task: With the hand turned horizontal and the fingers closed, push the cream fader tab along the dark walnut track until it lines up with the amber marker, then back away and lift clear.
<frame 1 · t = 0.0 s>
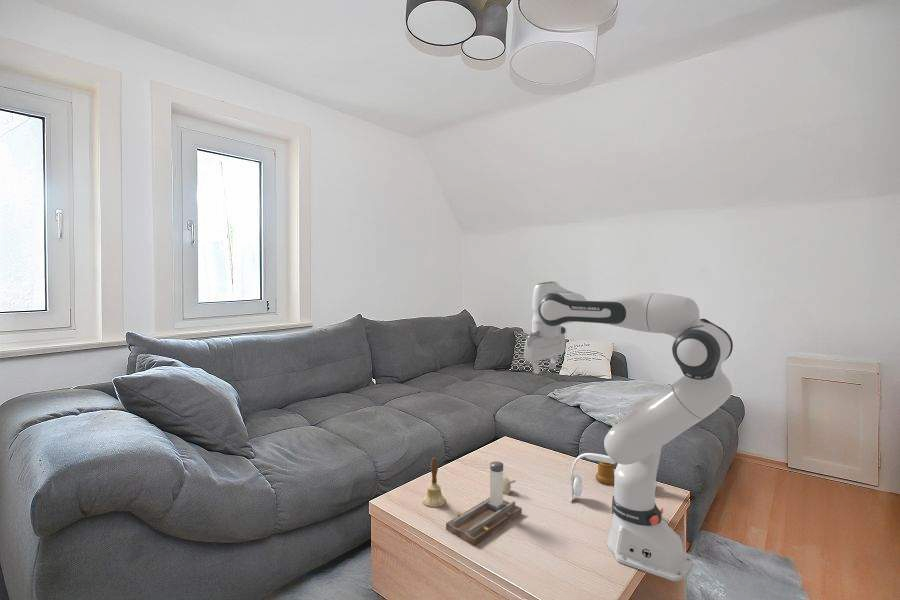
hand: (544, 370, 147), 48 cm above the table, tool pointing down, fingers open, 8 cm apart
white sculpted figure: (646, 490, 163), on the table
headset: (599, 504, 153), on the table
hand bell: (434, 501, 155), on the table
fader track: (485, 521, 142), on the table
decorative ornament: (504, 491, 162), on the table
ornamental finial: (605, 481, 170), on the table
fader tab: (496, 485, 146), point 10 cm above the table, slide at -6.0 cm
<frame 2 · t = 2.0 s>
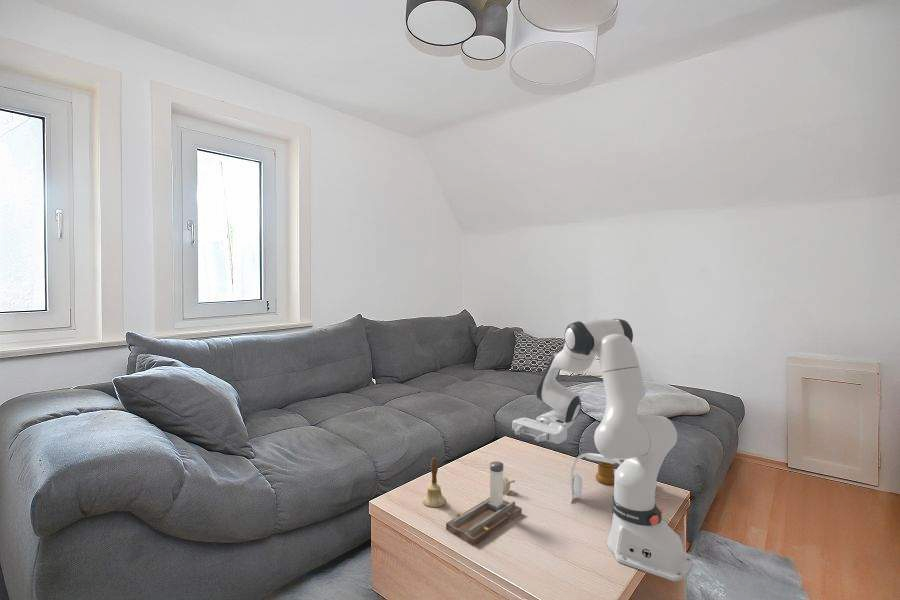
hand: (526, 435, 157), 22 cm above the table, tool horizontal, fingers open, 7 cm apart
nothing on the table moved.
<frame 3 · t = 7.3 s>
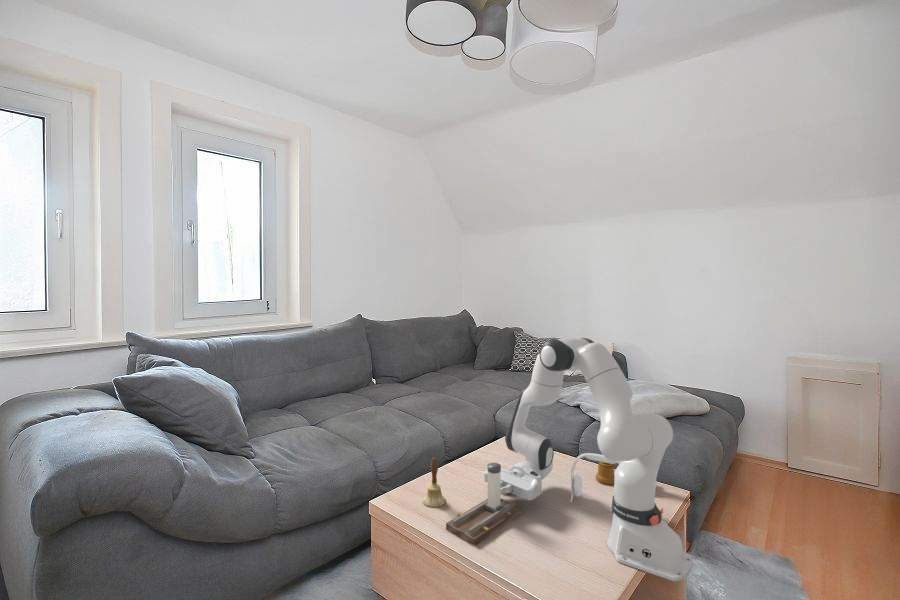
hand: (496, 490, 146), 8 cm above the table, tool horizontal, fingers closed, pressing on fader tab
fader tab: (494, 487, 145), point 10 cm above the table, slide at -4.6 cm, touching gripper
everything else where it was.
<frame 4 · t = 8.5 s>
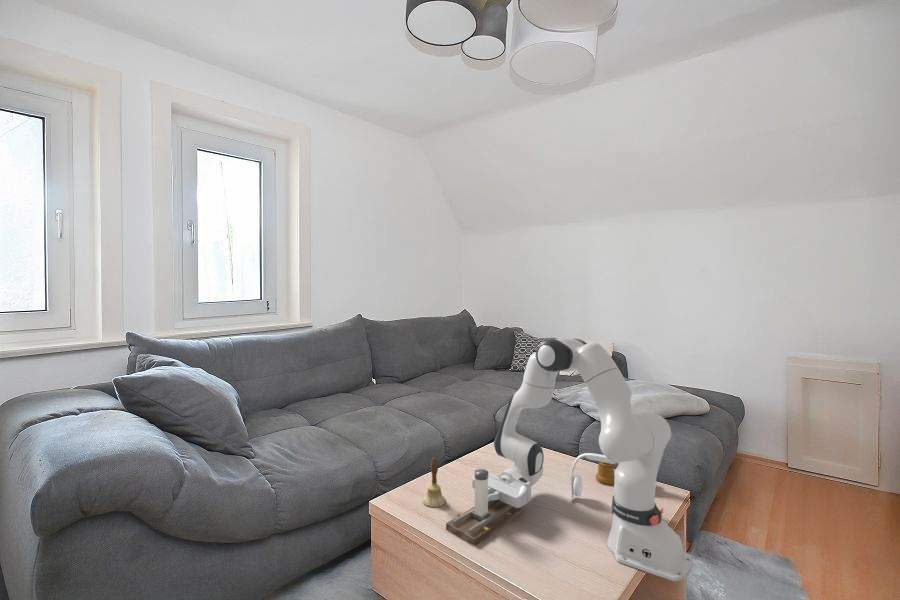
hand: (484, 498, 142), 8 cm above the table, tool horizontal, fingers closed, pressing on fader tab
fader tab: (481, 494, 140), point 10 cm above the table, slide at 1.9 cm, touching gripper
everything else where it was.
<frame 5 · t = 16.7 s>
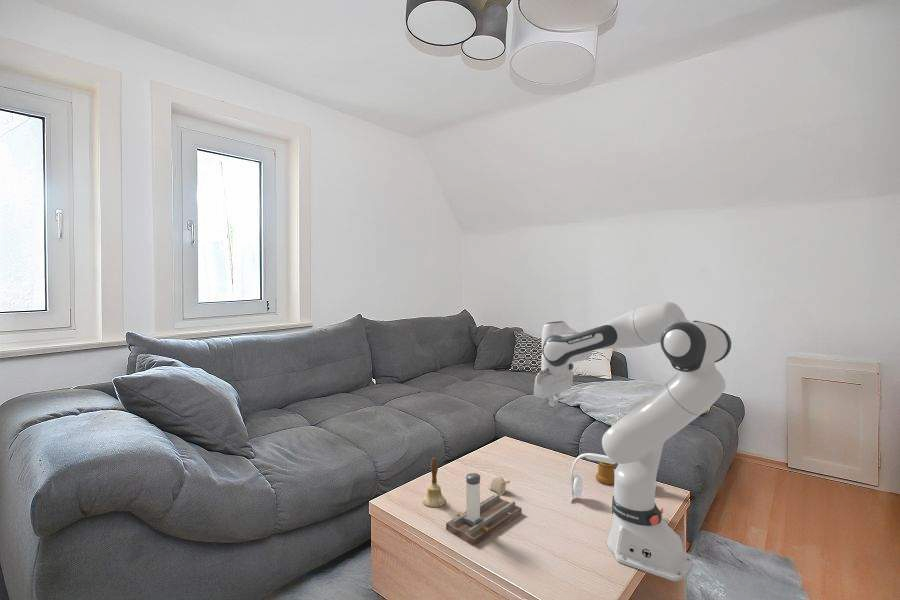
hand: (553, 405, 155), 34 cm above the table, tool pointing down, fingers closed
fader tab: (473, 499, 138), point 10 cm above the table, slide at 5.9 cm
at the end: fader tab slide at 5.9 cm; hand bell moved 0.3 cm from its start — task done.
